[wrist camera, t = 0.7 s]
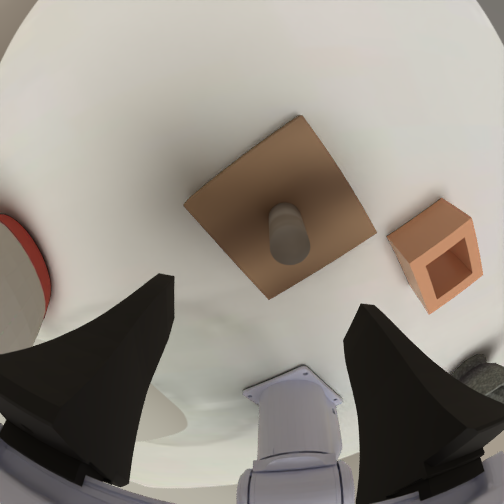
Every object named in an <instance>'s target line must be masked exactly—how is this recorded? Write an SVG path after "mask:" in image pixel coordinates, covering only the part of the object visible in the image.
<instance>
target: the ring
mask: <svg viewBox="0 0 504 504" xmlns="http://www.w3.org/2000/svg"><path fill="white" fill-rule="evenodd" d="M387 238H388V240H389V242H390V244H391V246H392V248H393V250H394V252H395V254H396V256H397V258H398V260H399V263H400V265H401V267H402V269H403V271H404V274H405V276H406V278H407V280H408V283H409V285H410V286H411V288H412V289H413V291H414V292H415V294H416V295H417V297H418V298H419V300H420V301H421V303H422V305H423V306H424V308H425V309H426V311H427V312H428V314H431V313H432V312H434V311H435V310H437V309H438V308H440V307H441V306H442V305H444V304H445V303H447V302H448V301H450V300H451V299H452V298H454V297H455V296H456V295H458V294H459V293H460V292H462V291H463V290H464V289H466V288H467V287H468V286H470V285H471V284H472V283H473V282H475V281H476V280H477V279H478V278H480V277H481V276H482V275H483V271H482V265H481V259H480V253H479V248H478V243H477V238H476V234H475V229H474V225H473V221H472V218H471V217H470V216H469V215H467V214H466V213H464V212H463V211H461V210H460V209H458V208H457V207H455V206H454V205H452V204H451V203H449V202H447V201H446V200H444V199H443V198H441V199H440V200H438V201H437V202H436V203H434V204H433V205H431V206H430V207H429V208H427V209H426V210H424V211H423V212H422V213H420V214H419V215H417V216H416V217H415V218H413V219H412V220H410V221H409V222H407V223H406V224H404V225H403V226H402V227H400V228H399V229H397V230H396V231H394V232H393V233H391V234H390V235H388V236H387Z"/></svg>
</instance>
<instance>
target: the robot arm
mask: <svg viewBox="0 0 504 504" xmlns="http://www.w3.org/2000/svg"><path fill="white" fill-rule="evenodd" d="M173 321H174V276H171V275H165V274H160V273H159V274H157V275H156V276H155V277H153V278H152V279H151V280H149V281H148V282H147V283H145V284H144V285H143V286H142V287H140V288H139V289H138V290H136V291H135V292H134V293H132V294H131V295H130V296H128V297H127V298H126V299H124V300H123V301H122V302H120V303H119V304H117V305H116V306H114V307H113V308H111V309H110V310H108V311H107V312H105V313H104V314H102V315H101V316H99V317H97V318H96V319H94V320H92V321H91V322H89V323H87V324H85V325H83V326H81V327H79V328H77V329H75V330H73V331H71V332H69V333H66V334H64V335H62V336H60V337H57V338H55V339H53V340H50V341H47V342H45V343H42V344H39V345H36V346H32V347H29V348H26V349H22V350H18V351H13V352H9V353H5V354H0V413H1V414H2V415H3V416H4V417H5V419H6V422H5V424H4V426H3V425H2V424H1V423H0V503H1V504H175V503H170V502H166V501H161V500H157V499H153V498H149V497H146V496H143V495H139V494H136V493H132V492H129V491H126V490H123V489H120V488H117V487H115V486H118V487H123V486H125V485H127V484H129V479H130V471H131V464H132V457H133V451H134V445H135V440H136V435H137V430H138V425H139V421H140V417H141V413H142V409H143V405H144V401H145V397H146V394H147V391H148V388H149V385H150V382H151V380H152V378H153V375H154V373H155V370H156V368H157V365H158V363H159V361H160V358H161V356H162V353H163V351H164V349H165V346H166V344H167V341H168V339H169V335H170V332H171V328H172V324H173ZM343 343H344V354H345V362H346V366H347V371H348V375H349V379H350V383H351V387H352V391H353V396H354V400H355V404H356V409H357V415H358V425H359V442H360V465H359V480H358V490H357V497H356V504H504V454H503V451H500V452H499V453H497V454H495V455H493V456H491V457H489V458H488V459H486V460H484V461H483V462H482V461H481V458H480V457H481V456H483V455H484V450H483V447H484V446H485V445H486V444H488V443H489V442H490V441H491V440H493V439H494V438H495V437H496V436H497V435H498V434H500V433H501V432H502V431H503V430H504V404H503V403H501V402H499V401H496V400H494V399H492V398H489V397H487V396H485V395H483V394H481V393H479V392H477V391H475V390H474V389H472V388H470V387H468V386H467V385H465V384H463V383H462V382H460V381H459V380H457V379H456V378H454V377H453V376H451V375H450V374H449V373H447V372H446V371H445V370H443V369H442V368H441V367H440V366H438V365H437V364H436V363H435V362H433V361H432V360H431V359H430V358H429V357H428V356H426V355H425V354H424V353H423V352H422V351H421V350H420V349H419V348H418V347H417V346H416V345H415V344H414V343H413V342H412V341H410V340H409V339H408V338H407V337H406V336H405V335H404V334H403V333H402V331H401V330H400V329H399V328H398V327H397V326H396V325H395V324H394V323H393V322H392V321H391V320H390V319H389V318H388V317H387V316H386V315H385V314H384V313H383V312H381V311H380V310H379V309H378V308H377V307H376V306H375V305H369V304H360V306H359V309H358V311H357V313H356V315H355V317H354V319H353V321H352V324H351V326H350V328H349V330H348V332H347V334H346V336H345V338H344V340H343ZM243 395H244V396H245V397H247V398H248V399H250V400H251V401H253V402H254V403H256V404H257V405H259V424H258V455H257V460H254V461H253V469H246V470H245V472H244V473H243V474H242V475H241V476H240V478H239V481H238V487H237V504H354V503H355V493H354V492H355V491H354V481H353V475H352V471H351V468H350V466H349V465H348V464H347V463H345V462H344V461H343V460H340V461H337V459H338V458H339V456H340V453H341V450H342V440H341V433H340V427H339V421H338V415H337V409H336V406H337V405H339V404H341V403H342V402H343V400H342V398H341V397H339V396H338V395H337V394H336V393H335V392H334V391H333V390H332V389H331V388H329V387H328V386H327V385H326V384H325V383H324V382H323V381H322V380H321V379H320V378H318V377H317V376H316V375H315V374H314V373H313V372H312V371H311V370H310V369H309V368H308V367H306V366H301V367H299V368H296V369H294V370H292V371H290V372H287V373H285V374H283V375H280V376H278V377H276V378H273V379H271V380H268V381H266V382H263V383H261V384H258V385H256V386H253V387H251V388H248V389H245V390H243ZM104 482H106V483H109V484H111V485H109V484H106V483H104ZM112 484H113V485H115V486H112Z"/></svg>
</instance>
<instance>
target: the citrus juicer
mask: <svg viewBox="0 0 504 504" xmlns="http://www.w3.org/2000/svg"><path fill="white" fill-rule="evenodd" d="M50 295H51V284H50V278H49V274H48V270H47V267H46V265H45V262H44V259H43V257H42V255H41V253H40V251H39V249H38V247H37V246H36V244H35V242H34V241H33V239H32V238H31V236H30V235H29V234H28V233H27V231H26V230H25V229H24V228H23V227H22V226H21V225H20V224H19V223H18V222H17V221H15V220H14V219H13V218H11V217H9V216H7V215H3V214H0V354H5V353H9V352H13V351H18V350H22V349H26V348H29V347H32V346H33V343H34V342H35V339H36V337H37V335H38V333H39V330H40V327H41V324H42V321H43V319H44V318H45V314H46V311H47V307H48V304H49V299H50Z"/></svg>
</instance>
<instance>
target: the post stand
mask: <svg viewBox="0 0 504 504" xmlns="http://www.w3.org/2000/svg"><path fill="white" fill-rule="evenodd" d="M183 206H184V207H185V208H186V209H187V210H188V211H189V212H190V214H191V215H192V216H193V217H194V218H195V219H196V220H197V221H198V223H199V224H200V225H201V226H202V227H203V228H204V229H205V230H206V232H207V233H208V234H209V235H210V236H211V237H212V238H213V239H214V240H215V242H216V243H217V244H218V245H219V246H220V247H221V248H222V249H223V250H224V252H225V253H226V254H227V255H228V256H229V257H230V258H231V259H232V260H233V261H234V263H235V264H236V265H237V266H238V267H239V268H240V269H241V270H242V271H243V272H244V273H245V275H246V276H247V277H248V278H249V279H250V280H251V281H252V282H253V283H254V284H255V285H256V287H257V288H258V289H259V290H260V291H261V292H262V293H263V294H264V295H265V296H266V297H267V298H268V300H270V299H271V298H273V297H275V296H277V295H278V294H280V293H282V292H283V291H285V290H287V289H288V288H290V287H292V286H293V285H295V284H297V283H298V282H300V281H302V280H303V279H305V278H307V277H308V276H310V275H312V274H313V273H315V272H317V271H318V270H320V269H321V268H323V267H325V266H326V265H328V264H329V263H331V262H333V261H334V260H336V259H337V258H339V257H341V256H342V255H344V254H345V253H347V252H348V251H350V250H352V249H353V248H355V247H356V246H358V245H359V244H361V243H362V242H364V241H365V240H367V239H368V238H370V237H372V236H373V235H375V234H376V233H377V232H376V230H375V228H374V226H373V224H372V223H371V221H370V219H369V217H368V215H367V214H366V212H365V210H364V208H363V207H362V205H361V203H360V201H359V200H358V198H357V196H356V195H355V193H354V191H353V190H352V188H351V186H350V185H349V183H348V182H347V180H346V178H345V177H344V175H343V174H342V172H341V171H340V169H339V167H338V166H337V164H336V163H335V161H334V160H333V158H332V157H331V155H330V154H329V152H328V151H327V149H326V148H325V146H324V145H323V144H322V142H321V141H320V139H319V138H318V136H317V135H316V134H315V132H314V131H313V129H312V128H311V127H310V125H309V124H308V123H307V121H306V120H305V118H304V117H303V116H302V115H299V116H297V117H296V118H294V119H293V120H291V121H290V122H288V123H287V124H285V125H284V126H283V127H281V128H280V129H278V130H277V131H275V132H274V133H273V134H271V135H270V136H268V137H267V138H266V139H264V140H263V141H261V142H260V143H259V144H257V145H256V146H255V147H253V148H252V149H251V150H249V151H248V152H247V153H245V154H244V155H243V156H241V157H240V158H239V159H237V160H236V161H235V162H233V163H232V164H231V165H229V166H228V167H227V168H226V169H224V170H223V171H222V172H221V173H219V174H218V175H217V176H215V177H214V178H213V179H212V180H210V181H209V182H208V183H207V184H206V185H204V186H203V187H202V188H201V189H199V190H198V191H197V192H196V193H195V194H193V195H192V196H191V197H190V198H189V199H188V200H187V201H186V202H185V204H184V205H183Z"/></svg>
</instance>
